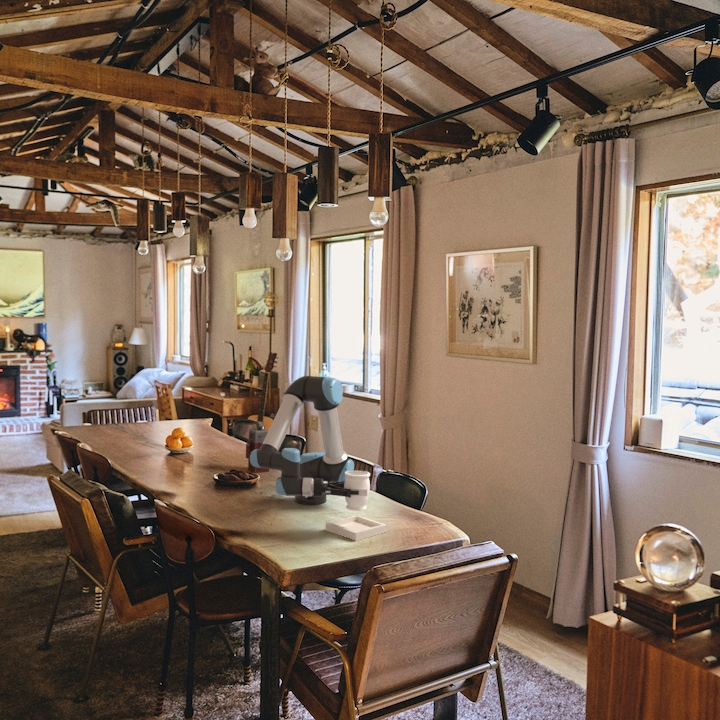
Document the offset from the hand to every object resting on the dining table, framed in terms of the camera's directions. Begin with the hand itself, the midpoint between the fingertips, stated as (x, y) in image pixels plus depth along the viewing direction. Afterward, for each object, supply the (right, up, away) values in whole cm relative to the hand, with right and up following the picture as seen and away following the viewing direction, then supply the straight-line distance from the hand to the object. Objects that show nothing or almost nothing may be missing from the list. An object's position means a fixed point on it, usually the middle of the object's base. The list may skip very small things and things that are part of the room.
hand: (367, 489), depth 291 cm
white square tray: (-5, -18, +1) cm, 18 cm away
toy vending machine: (-61, -9, +106) cm, 123 cm away
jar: (-5, -8, +1) cm, 9 cm away
